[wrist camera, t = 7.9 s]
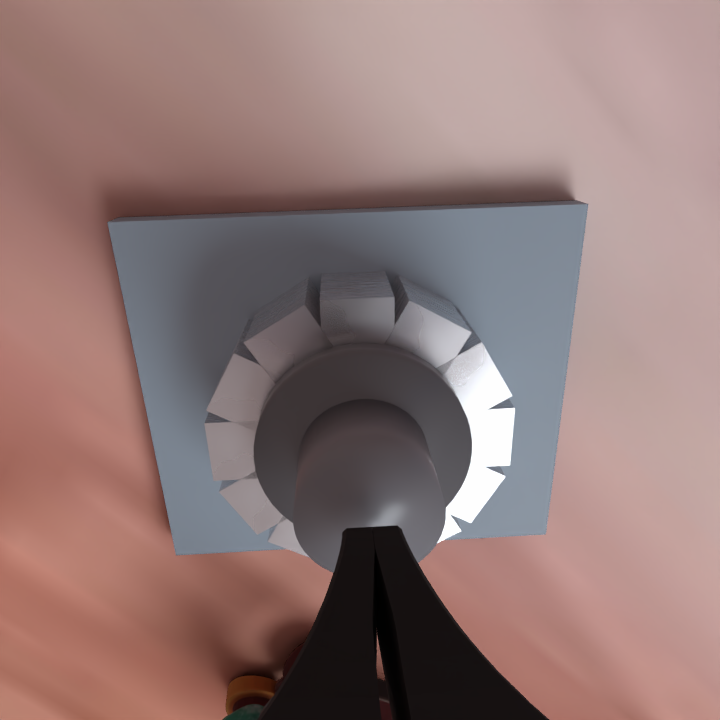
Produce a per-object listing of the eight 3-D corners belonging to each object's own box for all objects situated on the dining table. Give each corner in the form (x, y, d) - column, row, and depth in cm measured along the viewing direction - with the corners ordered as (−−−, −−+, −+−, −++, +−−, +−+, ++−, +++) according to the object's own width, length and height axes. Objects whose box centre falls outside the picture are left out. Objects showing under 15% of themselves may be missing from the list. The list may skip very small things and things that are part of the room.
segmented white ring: (496, 266, 19) (525, 291, 16) (480, 500, 23) (501, 555, 20) (207, 277, 19) (185, 305, 16) (241, 513, 23) (227, 570, 20)
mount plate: (576, 200, 20) (588, 204, 19) (537, 519, 25) (545, 534, 24) (118, 217, 19) (107, 222, 18) (181, 539, 25) (176, 555, 24)
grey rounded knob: (453, 311, 20) (512, 401, 13) (441, 471, 22) (486, 611, 16) (261, 313, 19) (226, 407, 13) (273, 475, 22) (248, 620, 16)
